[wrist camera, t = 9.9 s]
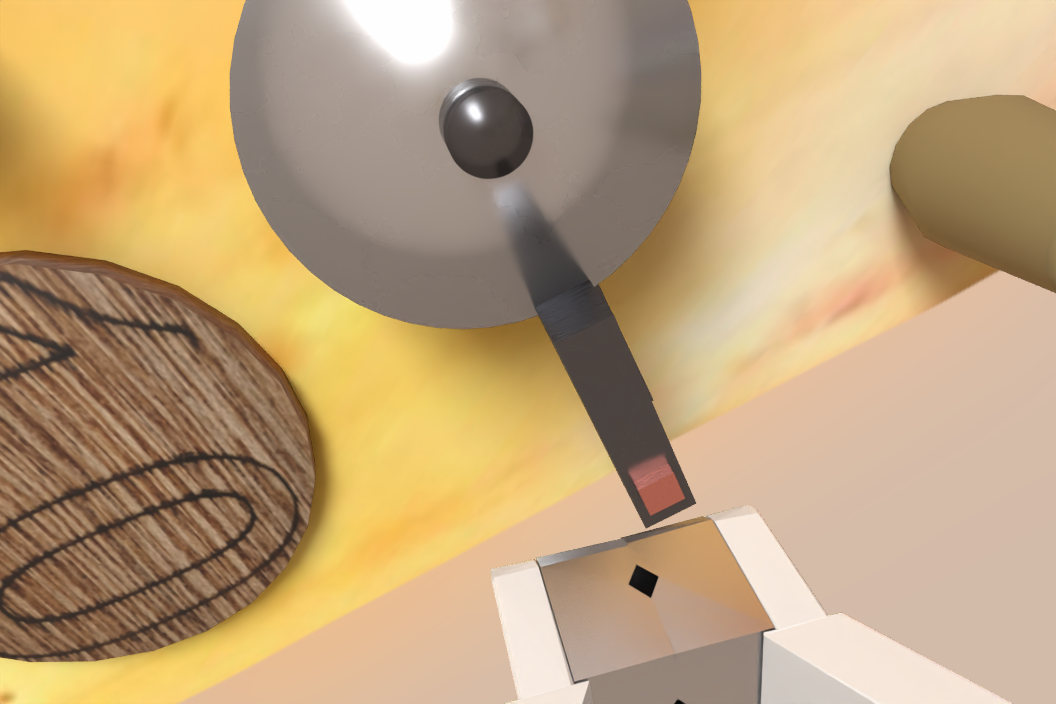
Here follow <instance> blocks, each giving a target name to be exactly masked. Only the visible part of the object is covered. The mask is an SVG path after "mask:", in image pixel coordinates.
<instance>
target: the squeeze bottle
mask: <svg viewBox="0 0 1056 704" xmlns="http://www.w3.org/2000/svg"><path fill="white" fill-rule="evenodd" d="M890 171H891V184H892V186H893V188H894V189H895V191H896V193H897V194H898V196H899V198H900V199H901V201H902V202H903V204H904V206H905V207H906V209H907V210H908V212H909V213H910V215H911V217H912V218H913V220H914V221H915V223H916V224H917V226H918V228H919V229H920V231H921V232H922V234H923V235H924V237H926V238H928V239H930V240H932V241H934V242H936V243H938V244H940V245H942V246H944V247H946V248H948V249H951V250H953V251H955V252H958V253H960V254H963V255H965V256H968V257H970V258H972V259H975V260H977V261H980V262H982V263H984V264H987V265H989V266H992V267H994V268H996V269H999V270H1001V271H1004V272H1006V273H1009V274H1011V275H1013V276H1016V277H1018V278H1021V279H1023V280H1025V281H1028V282H1031V283H1033V284H1035V285H1038V286H1040V287H1042V288H1045V289H1048V290H1050V291H1052V292H1055V293H1056V111H1055V110H1053V109H1051V108H1049V107H1047V106H1045V105H1042V104H1040V103H1038V102H1036V101H1034V100H1032V99H1030V98H1028V97H1026V96H1019V95H993V96H985V97H977V98H969V99H961V100H954V101H947V102H944V103H942V104H939V105H937V106H934V107H932V108H930V109H927V110H926V111H925V112H924V113H922V114H921V115H920V116H919V117H918V118H917V119H915V120H914V121H913V122H912V123H911V124H910V125H909V126H908V127H907V129H906V130H905V132H904V134H903V135H902V137H901V138H900V140H899V141H898V143H897V144H896V147H895V151H894V154H893V157H892V161H891V164H890Z"/></svg>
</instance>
